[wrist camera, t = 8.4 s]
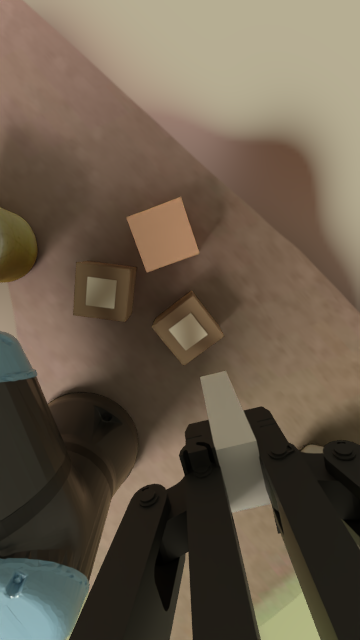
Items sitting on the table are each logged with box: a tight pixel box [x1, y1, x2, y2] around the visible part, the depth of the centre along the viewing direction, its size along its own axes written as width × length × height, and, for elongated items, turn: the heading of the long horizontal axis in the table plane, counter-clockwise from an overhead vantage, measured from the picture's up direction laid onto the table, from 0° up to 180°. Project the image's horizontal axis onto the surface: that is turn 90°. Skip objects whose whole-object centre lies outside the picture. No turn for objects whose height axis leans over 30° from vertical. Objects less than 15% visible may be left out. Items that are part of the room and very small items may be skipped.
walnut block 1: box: [73, 261, 137, 322], centre depth 37 cm, size 6×6×5 cm
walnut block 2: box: [152, 290, 224, 366], centre depth 38 cm, size 6×6×5 cm
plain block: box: [126, 197, 200, 272], centre depth 35 cm, size 6×6×6 cm
